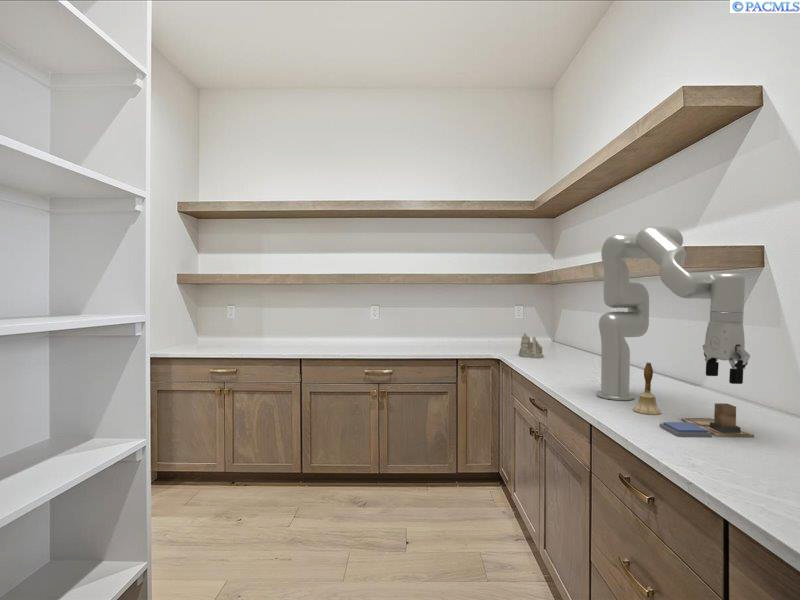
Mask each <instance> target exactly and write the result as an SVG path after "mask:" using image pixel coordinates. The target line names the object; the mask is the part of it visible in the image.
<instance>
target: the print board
mask: <svg viewBox="0 0 800 600" xmlns="http://www.w3.org/2000/svg"><path fill="white" fill-rule="evenodd" d="M680 421H681V422H690V423H693V424H695V425H697V426H699V427H701V428H704V429H706V430H708V432H710V433H712V436H714V437H717V438H718V437H719V438H720V437H723V438H724V437H725V438H727V437H728V438H729V437H730V438H731V437H732V438H733V437H734V438H740V437H741V438H755V434H754V433H752V432H751V433H750V432H748V431H745V430H744V429H741V433H721V432H719V431H717V430H714V429H712V428H710V422H714V418H711V417H710V418H708V417H705V418H704V417H701V418H698V417H697V418H695V417H694V418H693V417H692V418H691V417H690V418H689V417H684V418H682V417H681V418H680Z"/></svg>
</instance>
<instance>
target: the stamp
mask: <svg viewBox="0 0 800 600" xmlns="http://www.w3.org/2000/svg"><path fill="white" fill-rule="evenodd" d="M713 415H714V417H713V419H714V422H710V428H712V429H714V430H717V431H719V432H721V433H741V430H742V429H741V427H740V426H738V425H737V406H735V405H733V404H729V403H721V402H720V403H719V402H718V403H714V414H713Z"/></svg>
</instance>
